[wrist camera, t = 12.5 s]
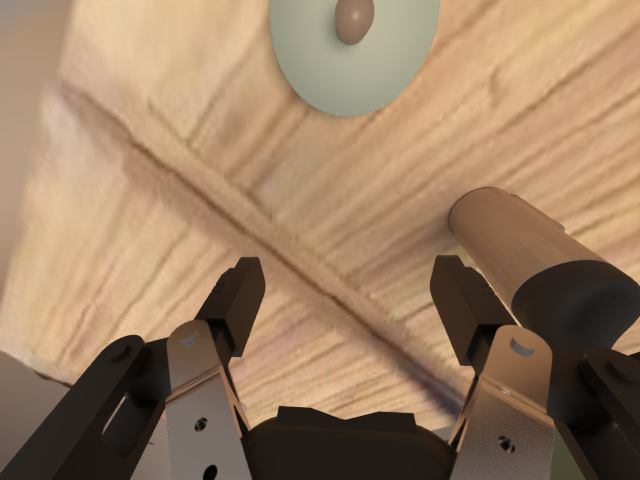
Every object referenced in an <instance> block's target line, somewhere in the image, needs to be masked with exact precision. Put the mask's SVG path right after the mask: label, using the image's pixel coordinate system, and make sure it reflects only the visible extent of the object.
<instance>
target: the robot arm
mask: <svg viewBox="0 0 640 480" xmlns="http://www.w3.org/2000/svg"><path fill="white" fill-rule="evenodd" d="M449 227H450V229H451V231H452V232H453V233H454V235H455V236H456V237H457V239H458V240H459V241H460V243H461V244H462V246H463V247H464V248H465V250H466V251H467V252H468V254H469V255H470V257H471V258H472V259H473V261H474V262H475V263H476V265H477V266H478V267H479V269H480V270H481V271H482V273H483V274H484V275H485V277H486V278H487V280H488V281H489V282H490V284H491V285H492V286H493V288H494V289H495V290H496V292H497V293H498V294H499V296H500V297H501V298H502V300H503V301H504V302H505V304H506V305H507V306H508V308H509V309H510V311H511V312H512V313H513V315H514V316H515V317H516V319H517V320H518V321H519V323H520V324H521V325H522V327H520V326H518V325H517V323H516V322H515V321H514V319H513V318H512V316H511V315H510V314H509V312H508V311H507V309H506V308H505V307H504V305H503V304H502V302H501V301H500V300H499V298H498V297H497V295H495V294H494V291H493V290H492V289H491V287H489V284H488V283H487V282H486V280H485V279H484V277H483V276H482V275H481V274H480V273H478V272H477V271H476V270H474V269H473V268H471V267H465V266H464V264H463V263H462V261H461V260H460V258H459V257H458V256H457V255H438V256H437V257H436V259H435V263H434V267H433V272H432V276H431V280H430V292H431V296H432V298H433V301H434V303H435V306H436V308H437V310H438V313H439V315H440V318H441V320H442V323H443V325H444V327H445V330H446V332H447V335H448V337H449V339H450V342H451V344H452V347H453V349H454V351H455V354H456V356H457V359H458V361H459V364H460V365H461V366H472V367H473V369H474V371H475V375H474V377H473V379H472V382H471V385H470V388H469V391H468V393H467V396H466V399H465V402H464V404H463V407H462V410H461V413H460V415H459V418H458V421H457V423H456V426H455V428H454V430H453V433H452V435H451V437H450V440H449V442H448V443H447V442H445V441H444V440H443V439H442V438H440V437H439V436H438V435H436V434H434V433H433V432H431V431H430V430H428V429H426V428H424V427H422V426H419V425H416V422H415V418H414V413H398V412H380V411H379V412H375V413H371V414H367V415H363V416H359V417H355V418H351V419H346V420H344V419H340V418H337V417H334V416H332V415H329V414H326V413H324V412H321V411H318V410H315V409H313V408H306V407H288V406H279V409H278V414H277V416H276V417H273V418H270V419H268V420H265V421H263V422H262V423H260V424H258V425H257V426H255V427H254V428H252V429H251V427H250V425H249V422H248V420H247V417H246V415H245V413H244V410H243V407H242V404H241V401H240V398H239V395H238V392H237V389H236V386H235V383H234V380H233V377H232V374H231V371H230V368H229V366H228V364H229V362H230V359H231V357H242V354H243V351H244V348H245V346H246V343H247V340H248V338H249V335H250V332H251V329H252V327H253V324H254V321H255V318H256V316H257V313H258V310H259V308H260V305H261V302H262V299H263V297H264V294H265V279H264V275H263V271H262V268H261V264H260V260H259V258H258V257H241V258H240V259H239V261H238V263H237V264H236V266H235V268H229V269H228V270H227V271H226V272H225V273H223V274H222V275H221V277H220V278H219V280H218V281H217V283H216V286H214V288H213V289H212V293H210V294H209V296H208V297H207V299H206V301H205V302H204V304H203V305H202V307H201V309H200V310H199V312H198V314H197V315H196V317H195V318H194V320H191V321H188V322H186V323H184V324H182V325H180V326H179V327H177V328H176V329H175V330H174V331H173V332H172V333H171V335H170V336H169V337H167V338H163V339H159V340H155V341H151V342H148V343H145V342H144V340H143V339H142V338H141V337H140V336H138V335H128V336H125V337H122V338H120V339H118V340H116V341H114V342H112V343H111V344H110V345H108V346H107V347H106V348H105V349H104V350H103V351H102V352H101V353H100V354H99V355H98V356H97V358H96V359H95V360H94V361H93V362H92V364H91V365H90V366H89V367H88V368H87V370H86V371H85V372H84V373H83V374H82V376H81V377H80V378H79V379H78V380H77V382H76V383H75V384H74V385H73V386H72V388H71V389H70V390H69V391H68V392H67V394H66V395H65V396H64V397H63V398H62V400H61V401H60V402H59V403H58V405H57V406H56V407H55V408H54V409H53V411H52V412H51V413H50V414H49V415H48V417H47V418H46V419H45V420H44V421H43V423H42V424H41V425H40V426H39V427H38V429H37V430H36V431H35V432H34V433H33V435H32V436H31V437H30V438H29V439H28V441H27V442H26V443H25V444H24V445H23V447H22V448H21V449H20V450H19V451H18V453H17V454H16V455H15V456H14V458H13V459H12V460H11V461H10V462H9V463H8V465H7V466H6V467H5V468H4V470H3V471H2V472H1V473H0V480H130V478H131V476H132V474H133V472H134V470H135V468H136V466H137V464H138V462H139V460H140V458H141V456H142V454H143V452H144V450H145V448H146V446H147V444H148V442H149V439H150V438H151V436H152V433H153V431H154V429H155V427H156V425H157V423H158V421H159V419H160V417H161V415H162V413H163V411H164V409H165V407H166V420H167V430H168V442H169V454H170V467H171V478H172V480H550V470H551V459H552V447H553V436H554V424H555V426H556V427H557V429H558V431H559V433H560V434H561V436H562V438H563V439H564V442H565V443H566V445H567V447H568V449H569V451H570V452H571V454H572V456H573V458H574V459H575V461H576V463H577V465H578V466H579V468H580V470H581V472H582V474H583V475H584V477H585V479H586V480H640V352H637V353H634V354H631V355H628V356H627V355H625V354H623V353H620V352H618V351H615V350H612V349H611V348H612V347H613V345H614V344H615V342H616V341H617V340H618V339H619V337H620V336H621V335H622V334H623V333H624V332H625V331H626V330H628V329H629V328H630V327H631V326H632V325H633V324H634V322H635V321H636V320H637V319H638V318H639V316H640V286H639V285H638V283H637V282H636V281H634V280H633V279H632V278H631V277H629V276H628V275H626V274H625V273H623V272H622V271H620V270H619V269H618V268H616V267H615V266H613V265H612V264H610V263H609V262H607V261H606V260H604V259H603V258H601V257H600V256H598V255H597V254H596V253H594V252H593V251H591V250H590V249H588V248H587V247H585V246H584V245H582V244H581V243H579V242H578V241H576V240H575V239H573V238H572V237H571V236H569V235H568V234H566V233H565V232H564V231H565V228H564V227H563V226H562V225H561V224H559V223H558V222H556V221H555V220H553V219H552V218H550V217H549V216H547V215H546V214H544V213H543V212H541V211H540V210H538V209H537V208H535V207H534V206H532V205H531V204H529V203H528V202H526V201H525V200H523V199H522V198H520V197H519V196H517V195H509V194H508V193H507V192H505V191H504V190H501V189H499V188H493V187H489V188H482V189H477V190H475V191H472V192H470V193H469V194H467V195H465V196H464V197H463V198H461V199H460V200H459V201H458V202H457V203H456V204H455V205H454V207H453V209H452V210H451V213H450V216H449ZM123 397H125V400H124V401H123V403H122V405H121V406H120V408H119V410H118V411H117V413H116V414H115V416H114V417H113V419H112V421H111V422H110V424H109V425H108V427H107V428H106V430H105V432H104V433H103V435H102V432H103V429H104V427H105V425H106V423H107V422H108V420H109V418H110V417H111V415H112V414H113V412H114V411H115V409H116V408H117V406H118V404H119V403H120V401H121V400H122V398H123Z"/></svg>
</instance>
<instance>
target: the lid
mask: <svg viewBox="0 0 640 480" xmlns="http://www.w3.org/2000/svg"><path fill="white" fill-rule="evenodd" d="M439 8H440V0H270V1H269V23H270V33H271V38H272V43H273V48H274V51H275V54H276V58H277V61H278V63H279V65H280V68H281V70H282V72H283V74H284V75H285V77H286V79H287V81H288V82H289V84H290V85H291V86H292V88H293V89H294V90H295V91H296V93H297V94H298V95H299V96H300V97H301V98H302V99H303V100H305V101H306V102H307V103H308V104H310V105H311V106H313V107H314V108H316V109H318V110H320V111H322V112H324V113H327V114H331V115H334V116H341V117H354V116H360V115H364V114H368V113H371V112H373V111H376V110H378V109H380V108H382V107H383V106H385V105H387V104H388V103H390V102H391V101H392V100H393V99H395V98H396V97H397V96H398V95H399V94H400V93H401V92H402V91H403V90H404V89H405V88H406V87H407V86H408V85H409V84H410V82H411V81H412V80H413V79H414V77H415V76H416V74H417V73H418V71H419V69H420V68H421V66H422V64H423V62H424V60H425V58H426V56H427V54H428V52H429V49H430V47H431V44H432V41H433V38H434V34H435V31H436V27H437V22H438V16H439Z"/></svg>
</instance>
